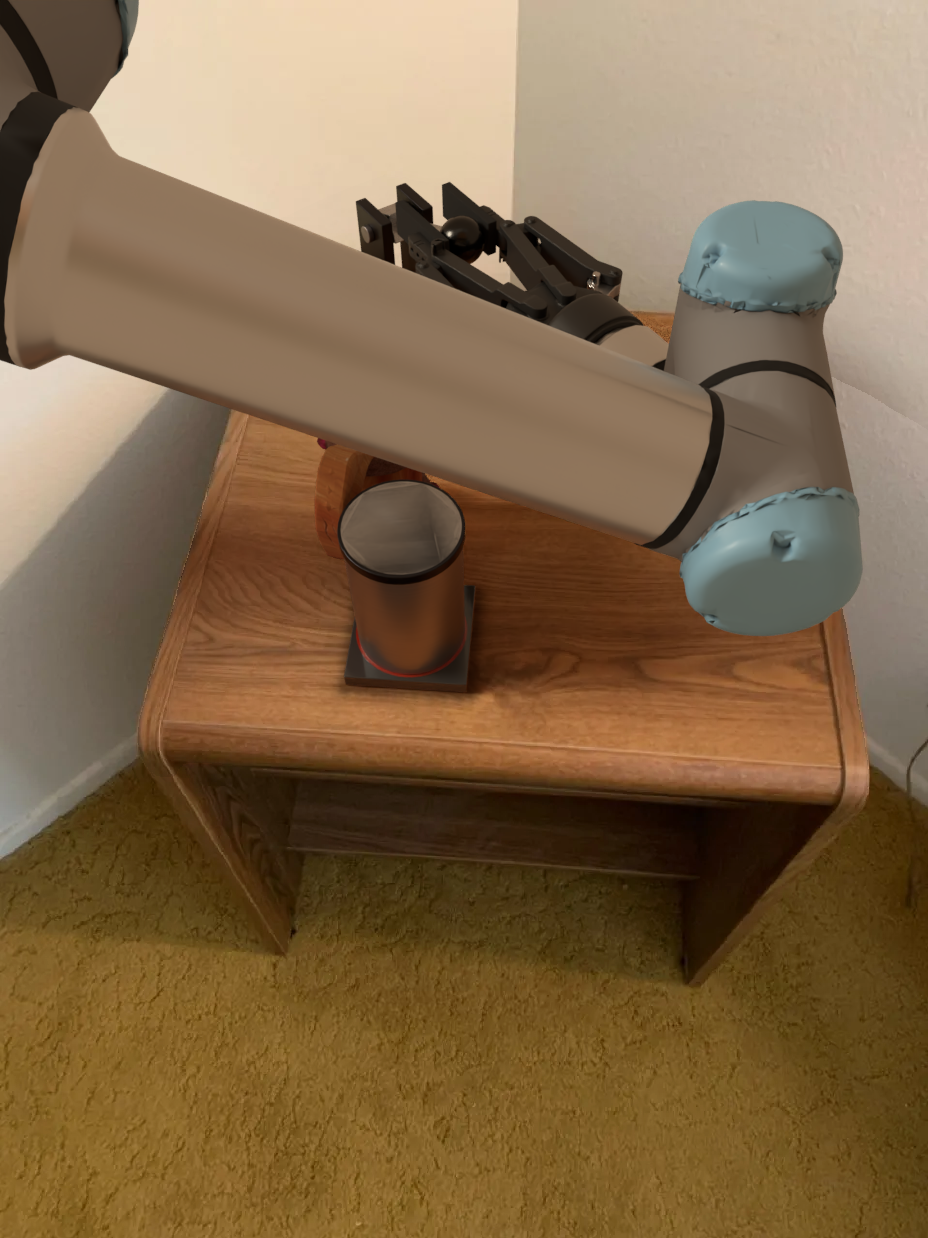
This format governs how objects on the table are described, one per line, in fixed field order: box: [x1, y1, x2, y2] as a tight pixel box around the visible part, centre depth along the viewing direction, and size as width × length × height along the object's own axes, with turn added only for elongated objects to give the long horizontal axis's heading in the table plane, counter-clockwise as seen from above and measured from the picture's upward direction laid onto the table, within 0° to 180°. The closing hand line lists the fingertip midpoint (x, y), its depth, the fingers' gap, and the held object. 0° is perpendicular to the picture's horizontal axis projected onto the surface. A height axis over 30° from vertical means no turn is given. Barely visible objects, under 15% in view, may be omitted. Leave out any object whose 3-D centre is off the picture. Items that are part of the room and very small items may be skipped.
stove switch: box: [355, 182, 434, 273], centre depth 84 cm, size 7×8×15 cm
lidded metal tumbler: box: [337, 479, 466, 675], centre depth 65 cm, size 8×8×12 cm
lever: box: [377, 202, 485, 265], centre depth 75 cm, size 14×4×4 cm, turn 34°
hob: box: [343, 584, 477, 693], centre depth 70 cm, size 9×9×1 cm
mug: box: [313, 438, 441, 561], centre depth 69 cm, size 15×8×15 cm, turn 163°
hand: (423, 208), depth 74 cm, fingers closed on lever, 4 cm apart
